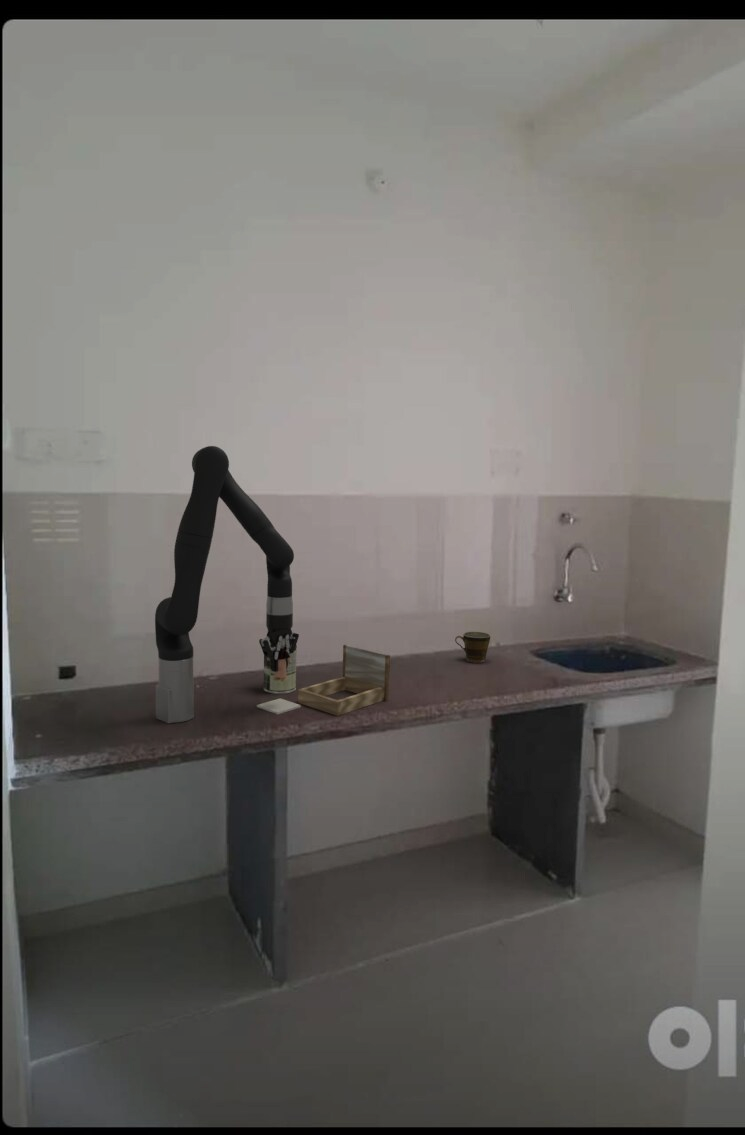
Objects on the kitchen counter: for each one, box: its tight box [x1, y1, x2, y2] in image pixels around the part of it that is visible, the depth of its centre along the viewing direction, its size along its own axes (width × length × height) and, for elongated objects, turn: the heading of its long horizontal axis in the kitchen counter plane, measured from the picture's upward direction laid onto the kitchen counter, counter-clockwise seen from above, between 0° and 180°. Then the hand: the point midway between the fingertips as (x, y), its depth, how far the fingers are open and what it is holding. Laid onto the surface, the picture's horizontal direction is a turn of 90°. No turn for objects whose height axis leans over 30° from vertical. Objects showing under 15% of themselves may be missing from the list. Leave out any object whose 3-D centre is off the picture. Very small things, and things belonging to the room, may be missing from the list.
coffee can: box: [262, 644, 298, 695], centre depth 231 cm, size 10×10×14 cm
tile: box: [256, 697, 302, 715], centre depth 214 cm, size 9×9×1 cm
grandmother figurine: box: [267, 639, 292, 681], centre depth 212 cm, size 8×4×13 cm, turn 84°
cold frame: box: [297, 643, 391, 717], centre depth 221 cm, size 21×18×14 cm
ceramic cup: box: [454, 631, 491, 664], centre depth 272 cm, size 13×10×10 cm
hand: (279, 669), depth 213 cm, fingers closed on grandmother figurine, 3 cm apart
